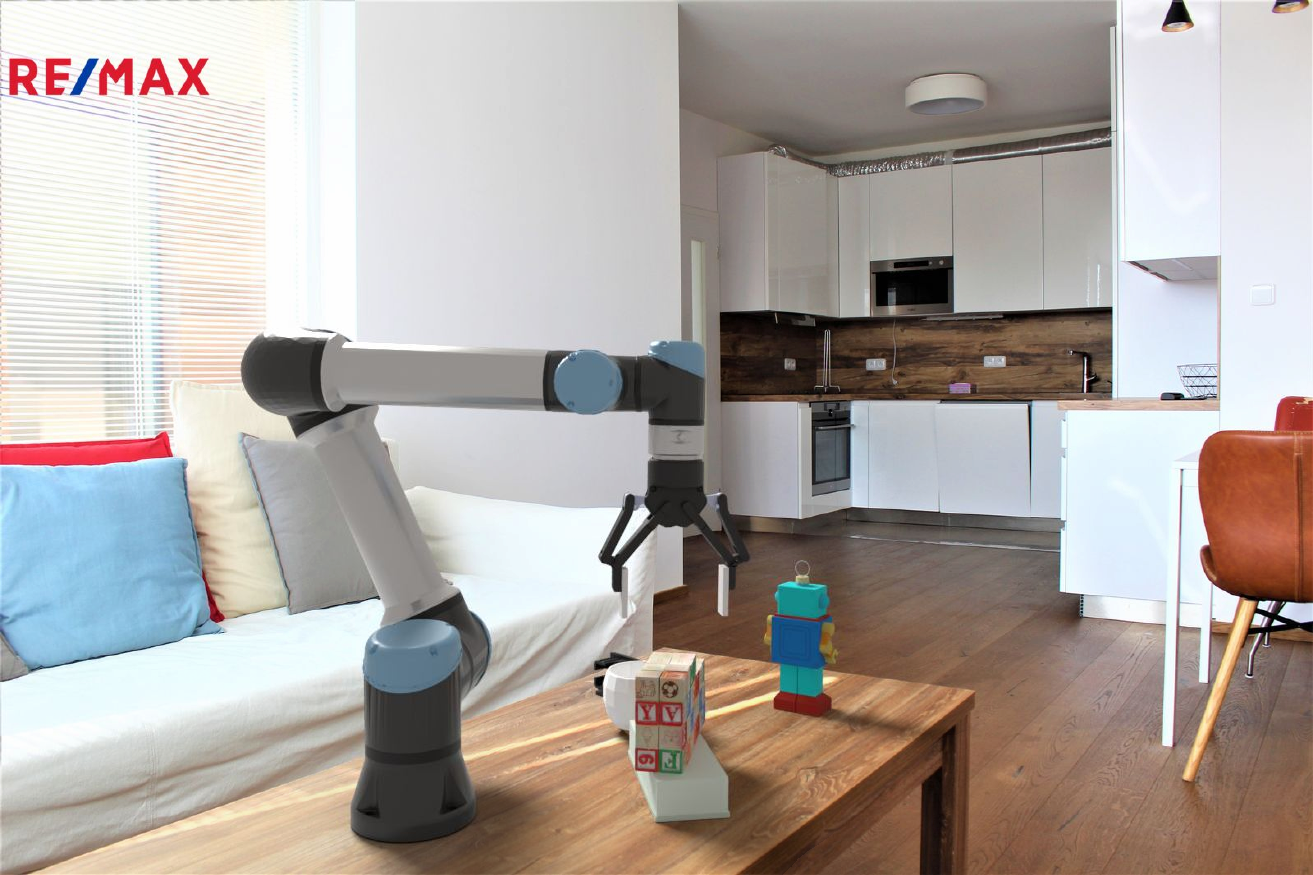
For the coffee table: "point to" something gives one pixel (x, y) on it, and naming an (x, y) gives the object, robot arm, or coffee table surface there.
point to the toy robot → (801, 645)
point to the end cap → (606, 664)
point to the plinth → (685, 786)
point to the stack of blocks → (668, 711)
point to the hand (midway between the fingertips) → (673, 615)
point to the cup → (621, 692)
